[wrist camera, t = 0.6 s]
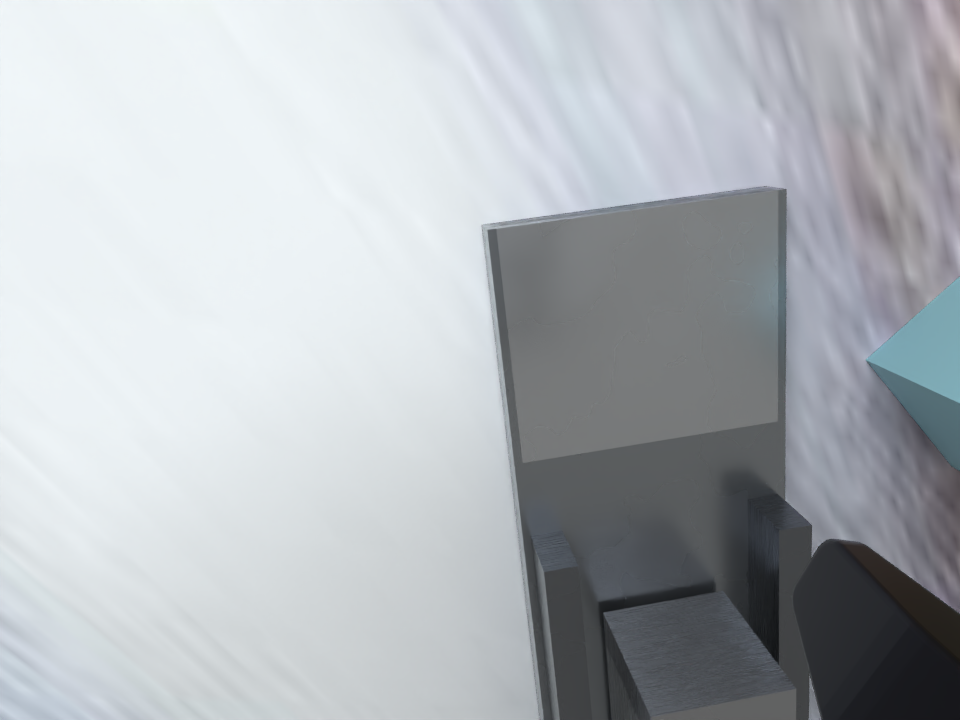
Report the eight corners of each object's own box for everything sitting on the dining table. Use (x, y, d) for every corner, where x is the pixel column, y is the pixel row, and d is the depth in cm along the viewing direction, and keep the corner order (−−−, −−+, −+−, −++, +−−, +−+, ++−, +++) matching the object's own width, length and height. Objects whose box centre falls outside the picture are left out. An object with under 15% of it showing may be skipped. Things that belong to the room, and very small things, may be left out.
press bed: (767, 779, 29) (813, 855, 26) (552, 823, 28) (572, 907, 25) (765, 186, 22) (827, 194, 19) (481, 224, 21) (497, 239, 18)
